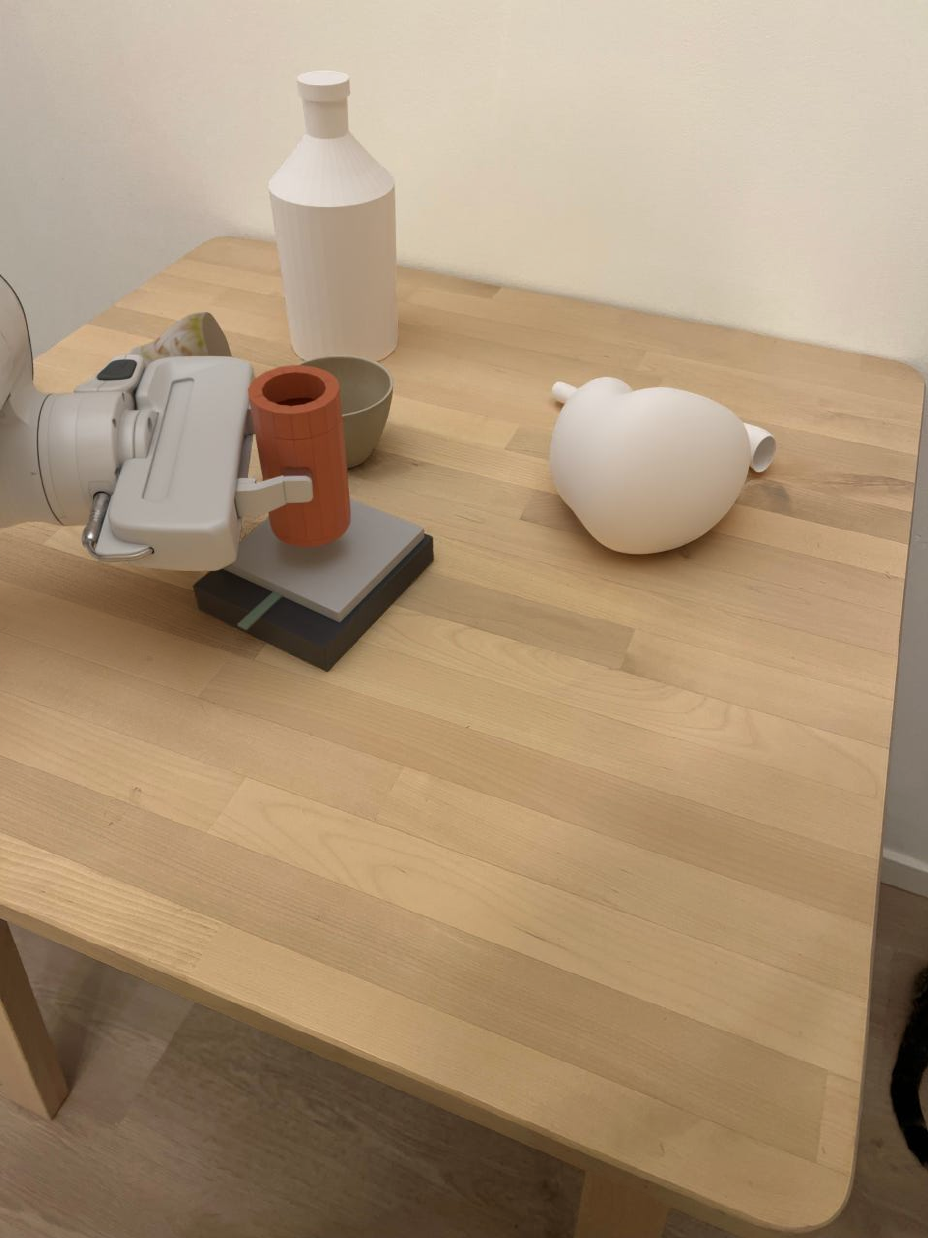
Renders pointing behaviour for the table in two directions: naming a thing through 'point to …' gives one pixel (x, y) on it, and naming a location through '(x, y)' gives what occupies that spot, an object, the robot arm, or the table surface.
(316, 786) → the table surface
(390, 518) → the scale
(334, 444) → the jar
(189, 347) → the mug
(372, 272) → the bottle
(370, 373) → the olive grey bowl
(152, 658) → the table surface
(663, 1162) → the table surface
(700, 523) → the stomach
